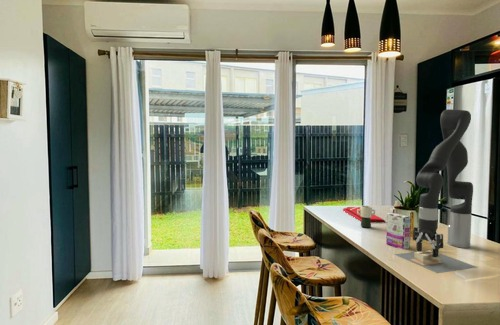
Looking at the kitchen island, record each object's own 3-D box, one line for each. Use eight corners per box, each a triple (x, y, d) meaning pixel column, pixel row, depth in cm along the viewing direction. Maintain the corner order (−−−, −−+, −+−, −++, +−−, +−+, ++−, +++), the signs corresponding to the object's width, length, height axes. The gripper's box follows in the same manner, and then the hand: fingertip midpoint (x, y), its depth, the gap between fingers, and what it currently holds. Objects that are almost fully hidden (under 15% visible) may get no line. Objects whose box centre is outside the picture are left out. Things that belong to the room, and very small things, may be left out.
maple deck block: (429, 257, 151) (430, 250, 151) (439, 261, 146) (439, 253, 146) (414, 259, 148) (414, 251, 148) (422, 263, 144) (423, 255, 143)
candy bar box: (410, 249, 167) (411, 216, 166) (403, 250, 165) (404, 217, 164) (392, 243, 177) (393, 212, 176) (385, 244, 175) (386, 213, 174)
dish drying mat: (362, 223, 222) (362, 218, 222) (342, 211, 263) (342, 206, 263) (385, 223, 223) (385, 217, 223) (361, 211, 264) (361, 206, 264)
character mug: (373, 226, 214) (374, 205, 213) (376, 228, 207) (376, 208, 206) (355, 225, 215) (356, 205, 214) (357, 228, 208) (358, 207, 207)
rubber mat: (394, 255, 157) (394, 253, 157) (430, 251, 163) (430, 249, 163) (437, 274, 134) (437, 272, 134) (477, 268, 141) (477, 266, 141)
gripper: (448, 220, 141) (447, 258, 142) (422, 213, 154) (420, 248, 155) (435, 221, 138) (433, 260, 139) (408, 214, 152) (407, 249, 153)
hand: (426, 253), depth 147 cm, fingers open, 8 cm apart
